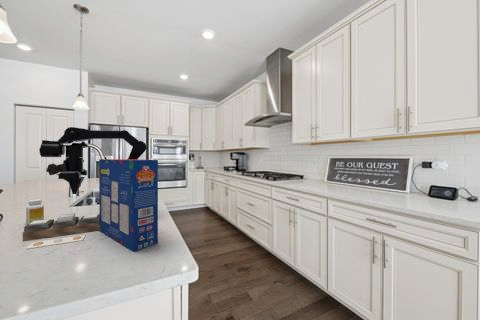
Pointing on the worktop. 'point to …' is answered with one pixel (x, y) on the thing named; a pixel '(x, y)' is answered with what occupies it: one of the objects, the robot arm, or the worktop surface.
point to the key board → (60, 228)
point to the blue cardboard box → (129, 202)
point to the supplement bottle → (34, 211)
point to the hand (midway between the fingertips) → (74, 194)
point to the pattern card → (56, 242)
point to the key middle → (66, 217)
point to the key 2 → (90, 216)
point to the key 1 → (39, 222)
